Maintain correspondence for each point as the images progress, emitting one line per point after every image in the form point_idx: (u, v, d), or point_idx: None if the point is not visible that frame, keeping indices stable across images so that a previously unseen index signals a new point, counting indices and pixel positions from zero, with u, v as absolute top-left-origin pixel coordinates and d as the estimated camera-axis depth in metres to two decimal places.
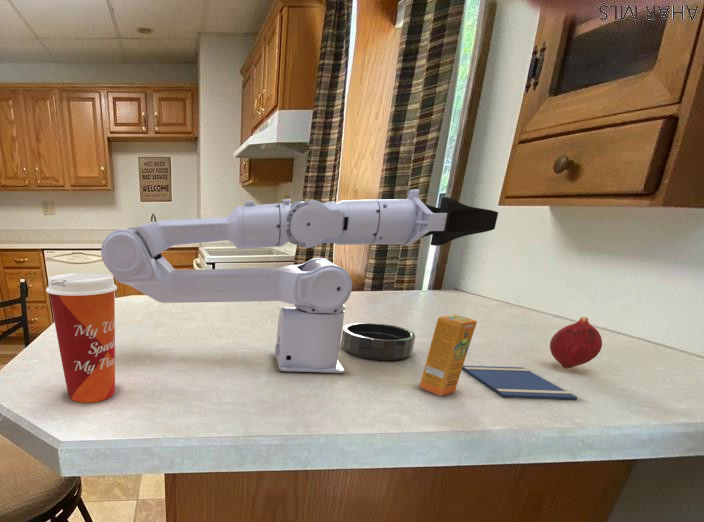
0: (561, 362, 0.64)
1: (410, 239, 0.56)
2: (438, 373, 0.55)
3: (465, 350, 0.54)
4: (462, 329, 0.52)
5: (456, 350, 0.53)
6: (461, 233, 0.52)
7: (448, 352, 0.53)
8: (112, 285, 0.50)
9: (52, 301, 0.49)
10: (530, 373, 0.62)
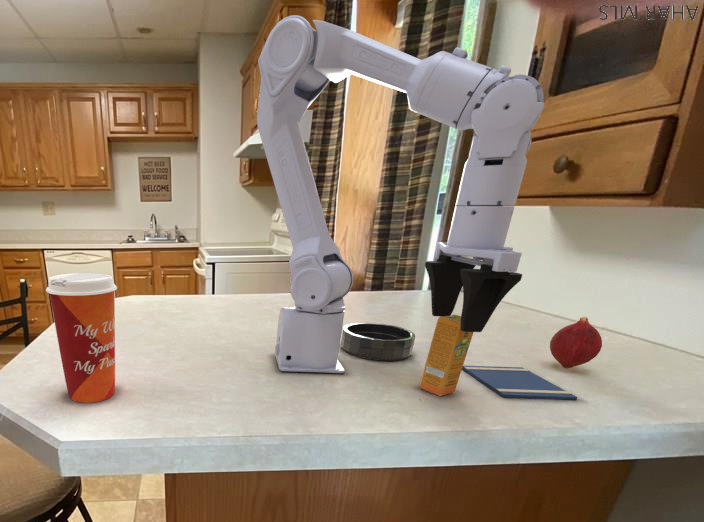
0: (561, 362, 0.64)
1: (465, 248, 0.48)
2: (438, 373, 0.55)
3: (465, 350, 0.54)
4: None
5: (456, 350, 0.53)
6: (474, 296, 0.47)
7: (448, 352, 0.53)
8: (112, 285, 0.50)
9: (52, 301, 0.49)
10: (530, 373, 0.62)
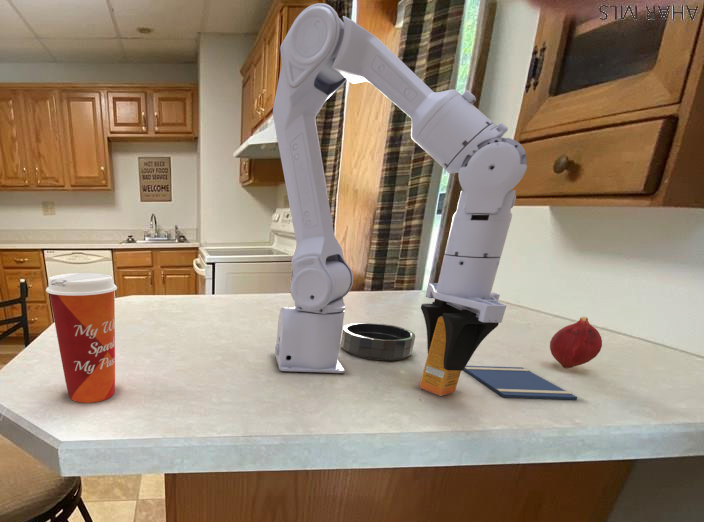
0: (561, 362, 0.64)
1: (453, 296, 0.50)
2: (438, 373, 0.55)
3: None
4: None
5: None
6: (455, 339, 0.50)
7: None
8: (112, 285, 0.50)
9: (52, 301, 0.49)
10: (530, 373, 0.62)
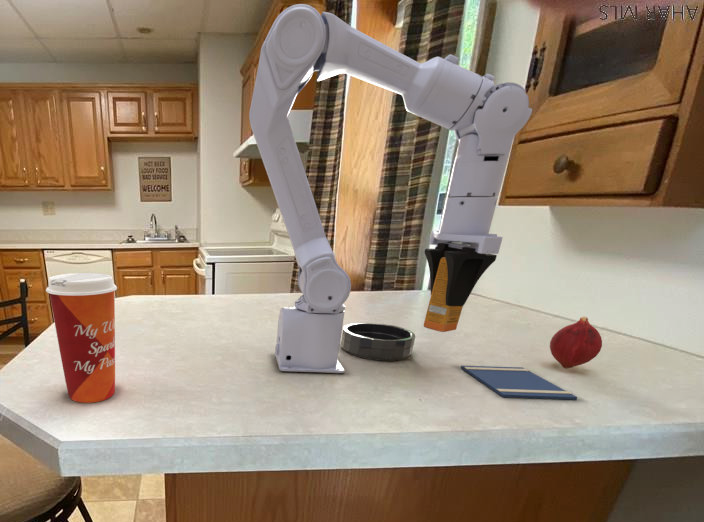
0: (561, 362, 0.64)
1: (454, 234, 0.54)
2: (440, 310, 0.59)
3: None
4: None
5: None
6: (456, 275, 0.55)
7: None
8: (112, 285, 0.50)
9: (52, 301, 0.49)
10: (530, 373, 0.62)
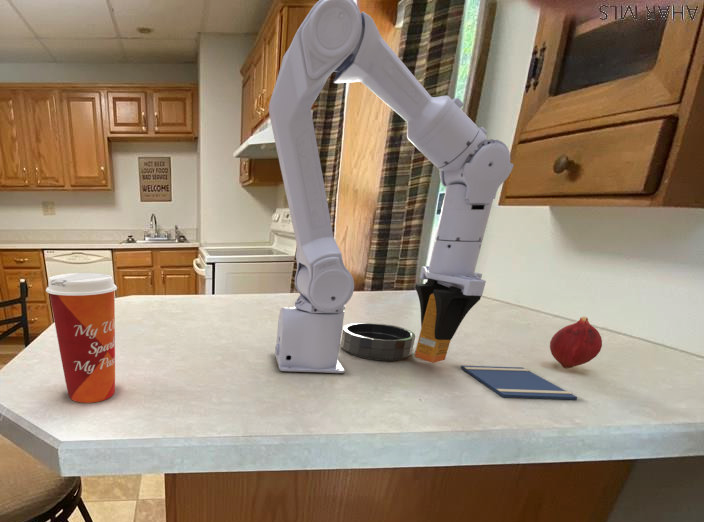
0: (561, 362, 0.64)
1: (442, 274, 0.58)
2: (430, 343, 0.63)
3: None
4: None
5: None
6: (444, 312, 0.59)
7: None
8: (112, 285, 0.50)
9: (52, 301, 0.49)
10: (530, 373, 0.62)
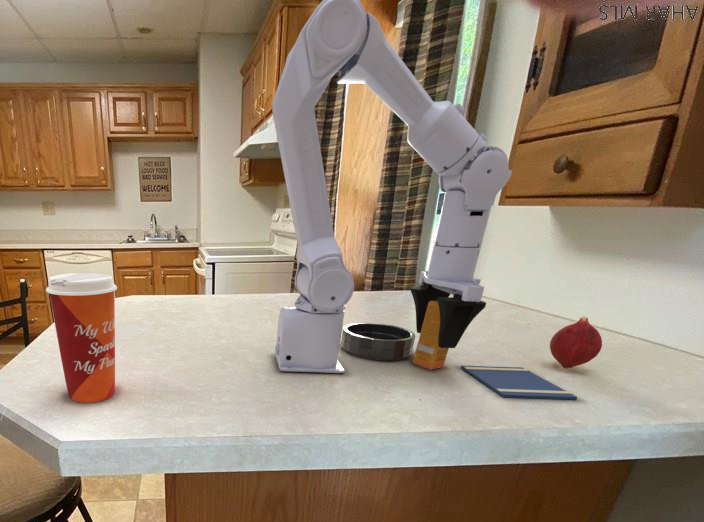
0: (561, 362, 0.64)
1: (441, 280, 0.59)
2: (428, 349, 0.64)
3: None
4: None
5: None
6: (448, 320, 0.58)
7: (437, 331, 0.62)
8: (112, 285, 0.50)
9: (52, 301, 0.49)
10: (530, 373, 0.62)
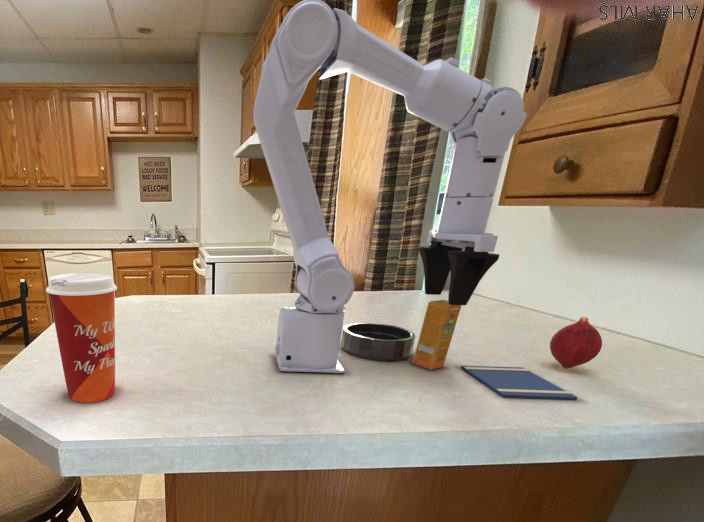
0: (561, 362, 0.64)
1: (452, 233, 0.56)
2: (428, 349, 0.64)
3: (452, 330, 0.63)
4: (448, 311, 0.61)
5: (444, 329, 0.62)
6: (459, 274, 0.56)
7: (437, 331, 0.62)
8: (112, 285, 0.50)
9: (52, 301, 0.49)
10: (530, 373, 0.62)
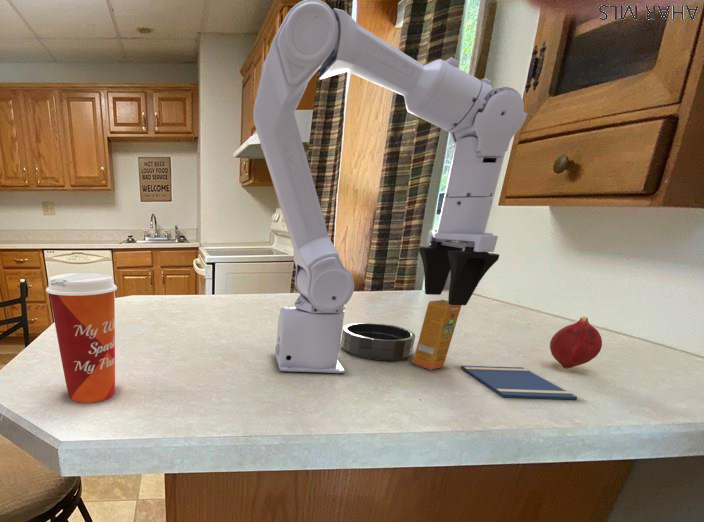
0: (561, 362, 0.64)
1: (452, 233, 0.56)
2: (428, 349, 0.64)
3: (452, 330, 0.63)
4: (448, 311, 0.61)
5: (444, 329, 0.62)
6: (459, 274, 0.56)
7: (437, 331, 0.62)
8: (112, 285, 0.50)
9: (52, 301, 0.49)
10: (530, 373, 0.62)
